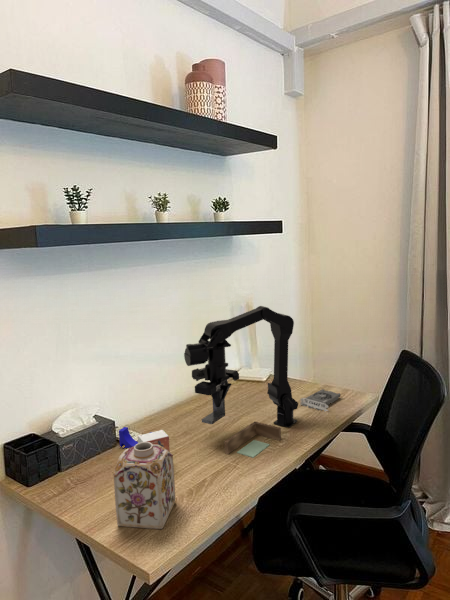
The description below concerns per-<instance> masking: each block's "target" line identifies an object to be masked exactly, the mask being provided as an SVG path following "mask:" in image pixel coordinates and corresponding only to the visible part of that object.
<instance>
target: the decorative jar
mask: <svg viewBox="0 0 450 600" xmlns="http://www.w3.org/2000/svg"><path fill="white" fill-rule="evenodd" d="M174 469H175V468H174V454H173V453H172V452H169V451H168V450H167V449H165V448H164V447H162V446H160V445H156V444H152V443H150V442H141V443H138V444H136V445H135V446H134V447H131V448H128V449H124V450H123V452H121V454H120V455H119V457H118V459H117V462H116V465H115V468H114V472H113V475H112V476H113V486H114V487H113V488H114V499H115V500H114V501H115V504H114V505H115V513H116V523H117V524H116V525H117V527H127V528H138V529H139V528H141V529H152V530H153V529H154V530H155V529H156V530H163V529H164V527H165V525H166V522H167V520H168V518H169V516H170V513H171V511H172V509H173V507H174V506H175V503H176V487H175V486H176V485H175V483H176V482H175V470H174Z"/></svg>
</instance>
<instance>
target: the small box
mask: <svg viewBox="0 0 450 600" xmlns="http://www.w3.org/2000/svg"><path fill="white" fill-rule="evenodd" d="M151 432H152V433H150V432H148V433H143V434H138V435H137V442H138V443H141V442H150V443H152V444H156V445H160V446H162V447H164V448H165V449H167V450H168V451H169V452H170V436H169V435H168V434H167V433H166V432H165V431H164V429H160V430H156V431H151ZM170 453H171V452H170Z"/></svg>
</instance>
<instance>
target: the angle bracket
mask: <svg viewBox="0 0 450 600" xmlns="http://www.w3.org/2000/svg"><path fill="white" fill-rule="evenodd" d="M225 398H226V397H225ZM225 398H221V403H220V406H219V407H216V406H215V403H214V401H213V398H212V397H211V399H212V412H210V413H209V414H208V415H206V416H205V417H203V418H201V423H203V424H209V425H214V424H215V423H216V422H218V421H219V420H222V418H224V417H226V406H225V405H226V403H225V402H226V401H225Z"/></svg>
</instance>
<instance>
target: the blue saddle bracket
mask: <svg viewBox="0 0 450 600" xmlns="http://www.w3.org/2000/svg"><path fill="white" fill-rule="evenodd" d="M152 432H153V431H150V432H149V433H152ZM118 436H119V437H118V438H119V447H120V446H121V447H122V446H123V445H125V447H124V448H123V449H125V448H131V447H134V446H135V445H136V444H138V440H135V439H134V437H133V436H132V435H131V433H130V431H129V427H128V426H127V427H126V426H124V427H122V428H121V429H119V430H118ZM121 447H120V448H121Z"/></svg>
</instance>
